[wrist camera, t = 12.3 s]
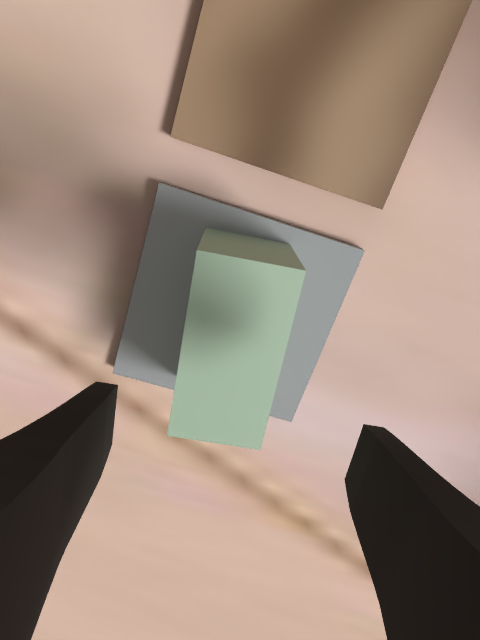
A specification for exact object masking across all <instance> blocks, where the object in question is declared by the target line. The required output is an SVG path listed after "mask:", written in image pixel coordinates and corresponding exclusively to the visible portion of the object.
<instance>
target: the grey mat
mask: <svg viewBox="0 0 480 640" xmlns="http://www.w3.org/2000/svg"><path fill="white" fill-rule="evenodd" d="M206 228H210V229H215V230H220V231H226V232H231V233H236V234H241V235H246V236H251V237H257V238H262V239H267V240H272V241H277V242H282V243H287V244H290V245H291V247H292V248H293V250H294V252H295V253H296V255H297V256H298V258H299V260H300V261H301V263H302V265H303V266H304V268H305V270H306V273H305V277H304V281H303V285H302V289H301V293H300V297H299V300H298V304H297V308H296V312H295V316H294V320H293V324H292V328H291V332H290V336H289V340H288V343H287V347H286V351H285V355H284V359H283V363H282V367H281V371H280V375H279V379H278V383H277V387H276V390H275V394H274V398H273V402H272V406H271V410H270V414H269V416H272V417H275V418H279V419H283V420H286V421H290V422H292V419H293V417H294V415H295V412H296V410H297V408H298V405H299V403H300V401H301V398H302V396H303V394H304V391H305V389H306V387H307V384H308V382H309V380H310V377H311V375H312V373H313V370H314V368H315V366H316V363H317V361H318V359H319V356H320V354H321V352H322V349H323V347H324V345H325V342H326V340H327V337H328V335H329V333H330V330H331V328H332V326H333V323H334V321H335V319H336V316H337V314H338V312H339V309H340V307H341V305H342V302H343V300H344V298H345V295H346V293H347V291H348V288H349V286H350V284H351V281H352V279H353V277H354V274H355V272H356V270H357V267H358V265H359V263H360V260H361V258H362V256H363V253H364V250H363V249H362V248H359V247H356V246H353V245H350V244H347V243H344V242H341V241H338V240H335V239H332V238H329V237H326V236H323V235H320V234H317V233H314V232H311V231H308V230H305V229H302V228H299V227H296V226H292V225H289V224H286V223H283V222H280V221H277V220H274V219H271V218H268V217H265V216H262V215H259V214H256V213H253V212H250V211H247V210H244V209H241V208H238V207H235V206H232V205H229V204H226V203H223V202H220V201H217V200H214V199H211V198H208V197H205V196H202V195H198V194H195V193H192V192H189V191H186V190H183V189H180V188H177V187H174V186H171V185H168V184H165V183H162V182H160V183H159V185H158V189H157V193H156V197H155V201H154V205H153V210H152V214H151V218H150V222H149V226H148V230H147V234H146V238H145V242H144V246H143V251H142V255H141V259H140V263H139V267H138V271H137V275H136V279H135V283H134V287H133V291H132V296H131V300H130V304H129V308H128V312H127V316H126V320H125V324H124V328H123V332H122V337H121V341H120V345H119V349H118V353H117V357H116V361H115V365H114V369H113V373H114V374H118V375H121V376H125V377H129V378H132V379H136V380H140V381H143V382H147V383H151V384H154V385H158V386H162V387H165V388H169V389H173V390H174V389H175V383H176V377H177V370H178V364H179V358H180V352H181V345H182V339H183V333H184V327H185V320H186V314H187V308H188V302H189V296H190V289H191V283H192V277H193V271H194V264H195V258H196V252H197V248H198V246H199V243H200V241H201V238H202V236H203V233H204V231H205V229H206Z"/></svg>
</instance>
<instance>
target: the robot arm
mask: <svg viewBox="0 0 480 640" xmlns="http://www.w3.org/2000/svg"><path fill="white" fill-rule="evenodd" d="M117 389H118V385H114V384H108V383H102V382H95V383H93V384H92V385H90V386H89V387H87V388H86V389H84V390H83V391H81V392H80V393H78V394H77V395H75V396H74V397H72V398H71V399H69V400H68V401H67V402H65V403H64V404H62V405H60V406H59V407H57V408H56V409H54V410H53V411H51V412H50V413H48V414H46V415H45V416H43V417H41V418H40V419H38V420H36V421H34V422H33V423H31V424H29V425H27V426H26V427H24V428H22V429H20V430H19V431H17V432H15V433H13V434H11V435H9V436H7V437H5V438H3V439H1V440H0V640H31V638H32V635H33V632H34V630H35V627H36V624H37V621H38V619H39V616H40V613H41V610H42V608H43V605H44V602H45V600H46V597H47V594H48V592H49V589H50V586H51V584H52V581H53V578H54V576H55V573H56V570H57V568H58V565H59V563H60V561H61V558H62V556H63V554H64V551H65V549H66V547H67V545H68V543H69V541H70V539H71V537H72V535H73V533H74V531H75V529H76V527H77V525H78V523H79V521H80V519H81V516H82V514H83V512H84V510H85V508H86V506H87V504H88V502H89V500H90V498H91V496H92V494H93V492H94V490H95V488H96V486H97V484H98V482H99V479H100V477H101V475H102V472H103V469H104V466H105V464H106V461H107V458H108V455H109V452H110V449H111V446H112V438H113V428H114V418H115V409H116V399H117ZM345 484H346V491H347V497H348V502H349V507H350V512H351V515H352V519H353V522H354V525H355V528H356V531H357V535H358V538H359V541H360V544H361V547H362V550H363V553H364V556H365V559H366V562H367V565H368V568H369V571H370V574H371V578H372V581H373V584H374V587H375V590H376V594H377V597H378V601H379V604H380V608H381V613H382V617H383V622H384V626H385V631H386V636H387V640H480V507H479V506H478V505H477V504H475V503H474V502H473V501H471V500H470V499H469V498H468V497H466V496H465V495H464V494H462V493H461V492H460V491H459V490H457V489H456V488H455V487H454V486H452V485H451V484H450V483H449V482H447V481H446V480H445V479H444V478H443V477H441V476H440V475H439V474H438V473H437V472H436V471H434V470H433V469H432V468H431V467H430V466H429V465H428V464H426V463H425V462H424V461H423V460H422V459H421V458H420V457H418V456H417V455H416V454H415V453H414V452H413V451H412V450H410V449H409V448H408V447H407V446H406V445H405V444H404V443H402V442H401V441H400V440H399V439H398V438H397V437H395V436H394V435H393V434H392V433H391V432H389V431H388V430H387V429H385V428H384V427H378V426H372V425H365V424H364V425H363V428H362V431H361V434H360V437H359V439H358V442H357V445H356V448H355V451H354V454H353V457H352V460H351V463H350V466H349V468H348V471H347V474H346V477H345Z"/></svg>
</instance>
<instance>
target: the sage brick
mask: <svg viewBox="0 0 480 640" xmlns="http://www.w3.org/2000/svg"><path fill="white" fill-rule="evenodd" d="M305 273H306V270H305V268H304V266H303V265H302V263H301V261H300V260H299V258H298V256H297V255H296V253H295V252H294V250H293V248H292V247H291V245H290V244H287V243H282V242H277V241H272V240H267V239H262V238H257V237H251V236H246V235H241V234H236V233H231V232H226V231H220V230H215V229H210V228H206V229H205V231H204V233H203V236H202V238H201V241H200V243H199V246H198V248H197V252H196V258H195V264H194V271H193V277H192V283H191V289H190V296H189V302H188V308H187V314H186V320H185V327H184V333H183V339H182V345H181V352H180V358H179V364H178V370H177V377H176V383H175V389H174V395H173V402H172V408H171V414H170V420H169V427H168V433H167V436H173V437H179V438H186V439H192V440H198V441H205V442H211V443H218V444H224V445H231V446H237V447H243V448H250V449H256V450H260V449H261V445H262V441H263V437H264V434H265V430H266V426H267V422H268V418H269V414H270V410H271V406H272V402H273V398H274V394H275V390H276V387H277V383H278V379H279V375H280V371H281V367H282V363H283V359H284V355H285V351H286V347H287V343H288V340H289V336H290V332H291V328H292V324H293V320H294V316H295V312H296V308H297V304H298V300H299V297H300V293H301V289H302V285H303V281H304V277H305Z"/></svg>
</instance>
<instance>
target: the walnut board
mask: <svg viewBox="0 0 480 640" xmlns="http://www.w3.org/2000/svg"><path fill="white" fill-rule="evenodd" d="M471 1H472V0H204V1H203V5H202V9H201V13H200V17H199V21H198V25H197V29H196V34H195V38H194V42H193V46H192V50H191V54H190V58H189V62H188V66H187V70H186V74H185V79H184V83H183V87H182V91H181V95H180V99H179V103H178V107H177V111H176V115H175V120H174V124H173V128H172V132H171V136H170V137H173V138H176V139H179V140H181V141H184V142H187V143H190V144H193V145H196V146H199V147H202V148H205V149H208V150H211V151H213V152H216V153H219V154H222V155H225V156H228V157H231V158H234V159H237V160H240V161H243V162H245V163H248V164H251V165H254V166H257V167H260V168H263V169H266V170H269V171H272V172H275V173H277V174H280V175H283V176H286V177H289V178H292V179H295V180H298V181H301V182H304V183H307V184H310V185H312V186H315V187H318V188H321V189H324V190H327V191H330V192H333V193H336V194H339V195H342V196H344V197H347V198H350V199H353V200H356V201H359V202H362V203H365V204H368V205H371V206H374V207H376V208H379V209H383V207H384V204H385V202H386V200H387V197H388V195H389V193H390V190H391V188H392V186H393V183H394V181H395V179H396V176H397V174H398V172H399V169H400V167H401V165H402V162H403V160H404V158H405V155H406V153H407V151H408V148H409V146H410V144H411V141H412V139H413V137H414V134H415V132H416V130H417V127H418V125H419V123H420V120H421V118H422V116H423V113H424V111H425V109H426V106H427V104H428V102H429V99H430V97H431V95H432V92H433V90H434V88H435V85H436V83H437V81H438V78H439V76H440V74H441V71H442V69H443V67H444V64H445V62H446V60H447V57H448V55H449V53H450V50H451V48H452V46H453V43H454V41H455V39H456V36H457V34H458V32H459V29H460V27H461V25H462V22H463V20H464V18H465V15H466V13H467V11H468V8H469V6H470V4H471Z"/></svg>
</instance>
